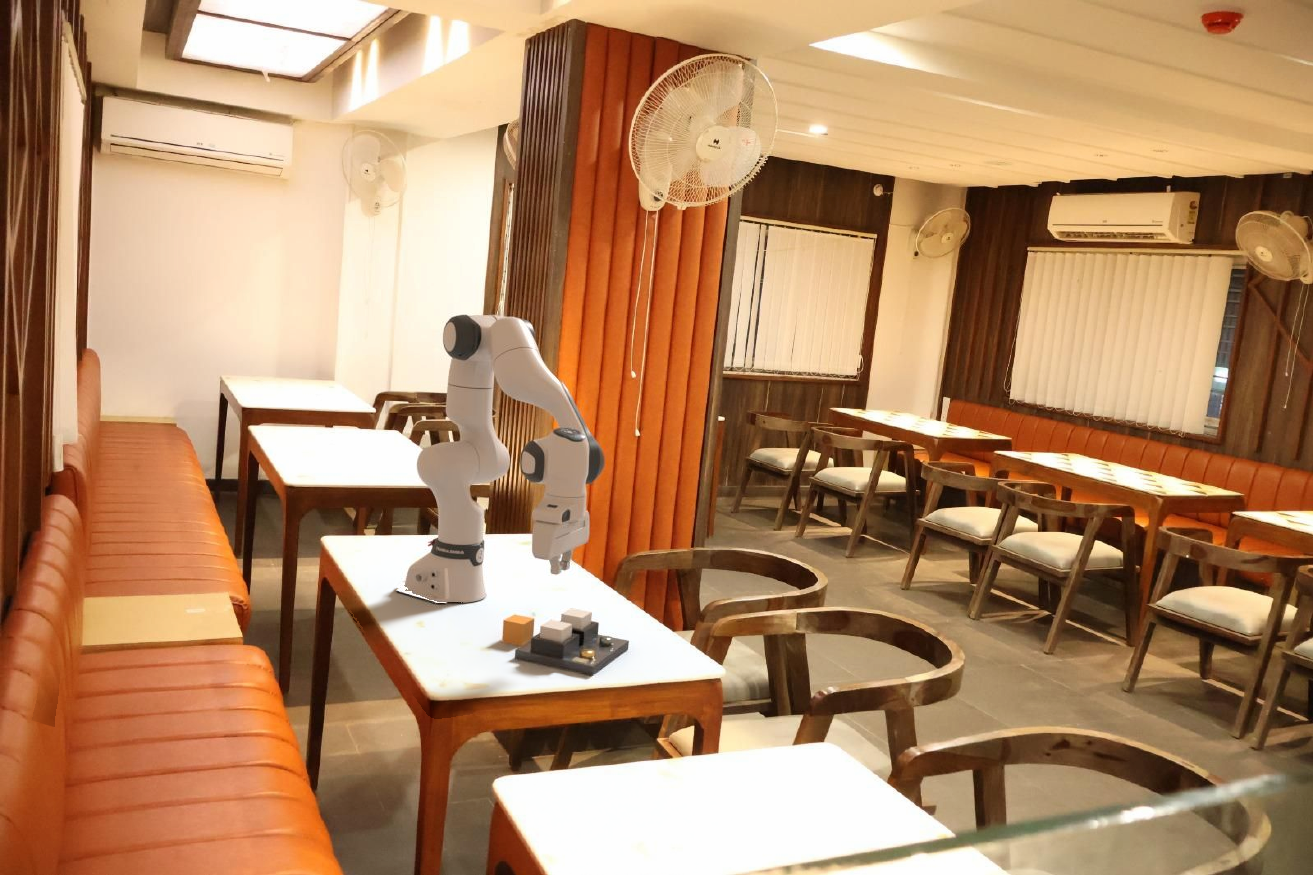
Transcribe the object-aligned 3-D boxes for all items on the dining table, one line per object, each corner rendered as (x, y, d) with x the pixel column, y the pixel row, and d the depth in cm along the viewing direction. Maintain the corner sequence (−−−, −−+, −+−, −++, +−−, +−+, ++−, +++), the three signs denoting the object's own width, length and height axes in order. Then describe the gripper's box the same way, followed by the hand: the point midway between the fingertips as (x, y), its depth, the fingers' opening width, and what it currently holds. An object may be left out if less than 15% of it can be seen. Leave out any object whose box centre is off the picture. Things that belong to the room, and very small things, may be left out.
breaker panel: (514, 658, 224) (516, 636, 223) (555, 634, 242) (556, 613, 241) (592, 675, 218) (594, 652, 217) (628, 649, 235) (629, 627, 235)
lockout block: (502, 642, 234) (503, 620, 233) (513, 635, 239) (514, 614, 238) (522, 646, 232) (523, 624, 232) (532, 640, 237) (534, 618, 236)
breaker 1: (539, 639, 224) (540, 625, 223) (550, 633, 228) (551, 619, 228) (560, 644, 222) (561, 630, 221) (571, 637, 226) (572, 624, 226)
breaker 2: (560, 627, 233) (561, 613, 232) (570, 621, 237) (571, 608, 237) (581, 631, 231) (582, 617, 231) (590, 625, 236) (591, 612, 235)
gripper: (572, 497, 232) (568, 558, 234) (528, 512, 213) (523, 579, 215) (598, 501, 230) (594, 563, 232) (556, 517, 211) (551, 585, 213)
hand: (560, 571), depth 223 cm, fingers open, 3 cm apart
